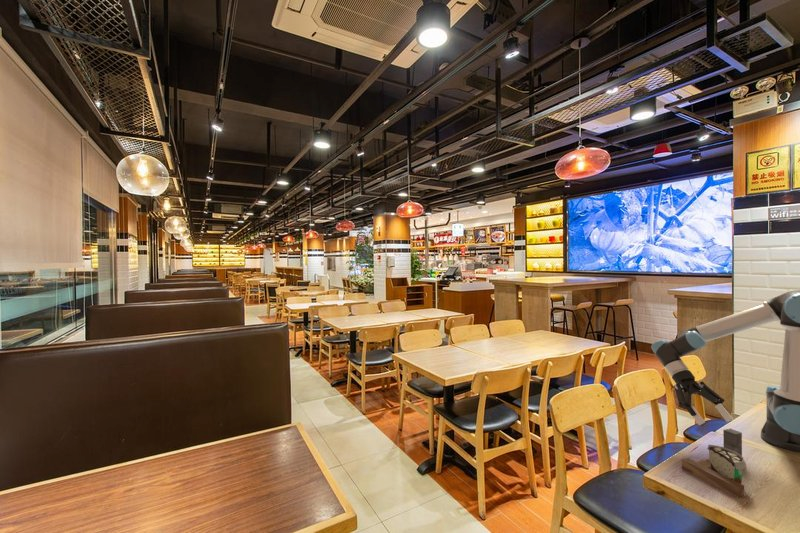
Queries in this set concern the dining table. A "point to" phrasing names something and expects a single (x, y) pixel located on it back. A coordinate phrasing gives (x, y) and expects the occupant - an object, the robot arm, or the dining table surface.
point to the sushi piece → (726, 462)
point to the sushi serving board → (704, 472)
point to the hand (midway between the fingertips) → (716, 422)
